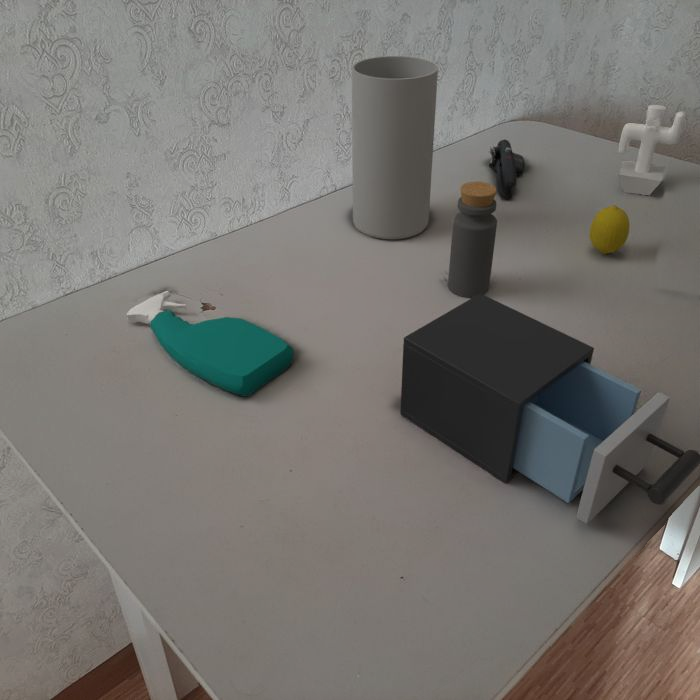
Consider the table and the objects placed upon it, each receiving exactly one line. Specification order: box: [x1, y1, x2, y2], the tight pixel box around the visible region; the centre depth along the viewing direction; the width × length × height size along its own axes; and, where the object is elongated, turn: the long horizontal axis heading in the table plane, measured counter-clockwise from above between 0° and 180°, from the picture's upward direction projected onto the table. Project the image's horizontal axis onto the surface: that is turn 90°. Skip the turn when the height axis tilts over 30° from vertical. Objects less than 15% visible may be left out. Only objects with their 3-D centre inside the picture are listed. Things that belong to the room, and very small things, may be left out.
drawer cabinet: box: [399, 294, 595, 485], centre depth 76 cm, size 15×13×11 cm
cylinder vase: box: [351, 55, 439, 240], centre depth 111 cm, size 12×12×25 cm
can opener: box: [488, 139, 526, 200], centre depth 131 cm, size 18×7×6 cm, turn 170°
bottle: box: [447, 181, 498, 298], centre depth 98 cm, size 6×6×15 cm
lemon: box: [589, 204, 630, 255], centre depth 107 cm, size 6×6×8 cm
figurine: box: [617, 104, 687, 196], centre depth 125 cm, size 7×9×15 cm
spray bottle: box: [126, 290, 295, 397], centre depth 91 cm, size 3×11×24 cm
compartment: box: [513, 361, 700, 525], centre depth 69 cm, size 18×11×9 cm, turn 43°
